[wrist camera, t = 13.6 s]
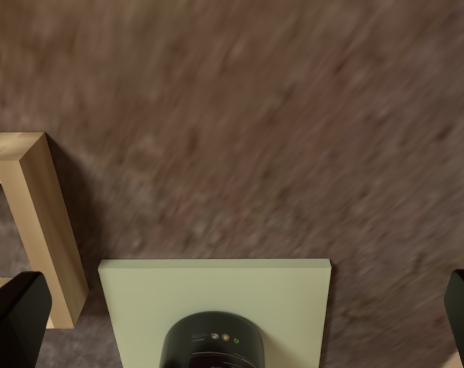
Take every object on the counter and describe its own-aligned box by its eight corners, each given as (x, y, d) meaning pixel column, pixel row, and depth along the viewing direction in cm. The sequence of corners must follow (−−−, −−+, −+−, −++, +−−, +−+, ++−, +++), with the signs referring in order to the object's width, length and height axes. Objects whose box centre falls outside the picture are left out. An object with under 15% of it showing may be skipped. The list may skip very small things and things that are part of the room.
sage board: (328, 258, 26) (331, 267, 26) (312, 393, 34) (313, 403, 33) (101, 259, 27) (97, 268, 26) (134, 392, 34) (132, 402, 33)
